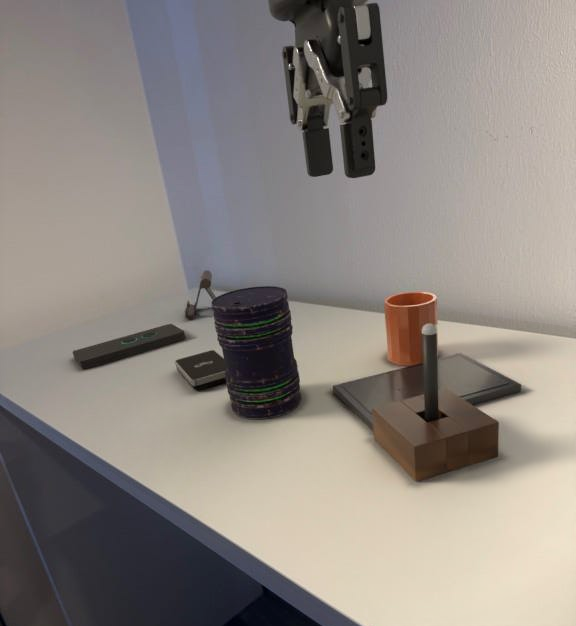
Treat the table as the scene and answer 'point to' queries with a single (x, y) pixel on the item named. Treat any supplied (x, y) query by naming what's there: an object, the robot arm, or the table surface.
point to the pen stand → (435, 435)
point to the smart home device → (128, 345)
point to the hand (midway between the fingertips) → (338, 176)
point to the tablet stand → (205, 284)
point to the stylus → (430, 372)
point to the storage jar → (258, 351)
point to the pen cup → (408, 325)
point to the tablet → (408, 382)
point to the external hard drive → (202, 369)
